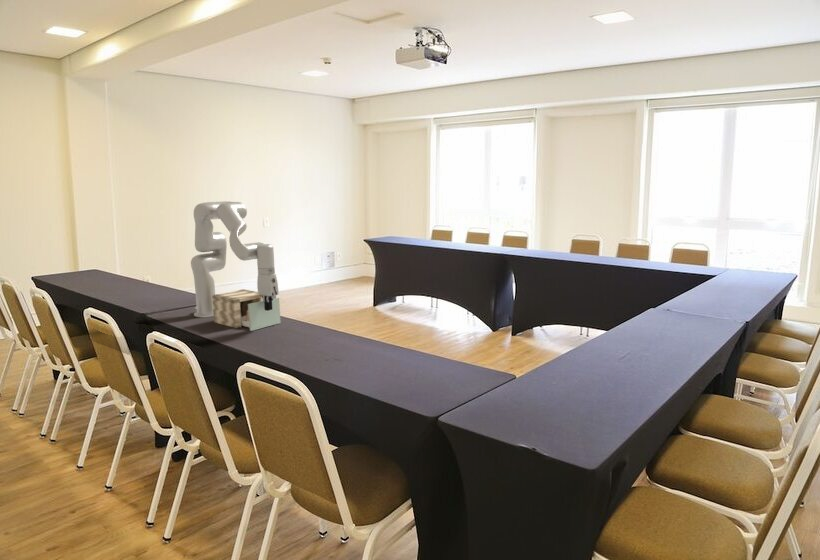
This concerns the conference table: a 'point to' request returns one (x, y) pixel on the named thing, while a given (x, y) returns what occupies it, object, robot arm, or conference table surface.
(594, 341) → the conference table surface
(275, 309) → the mint green drawer
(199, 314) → the robot arm
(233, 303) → the beige brown striped box
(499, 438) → the conference table surface
